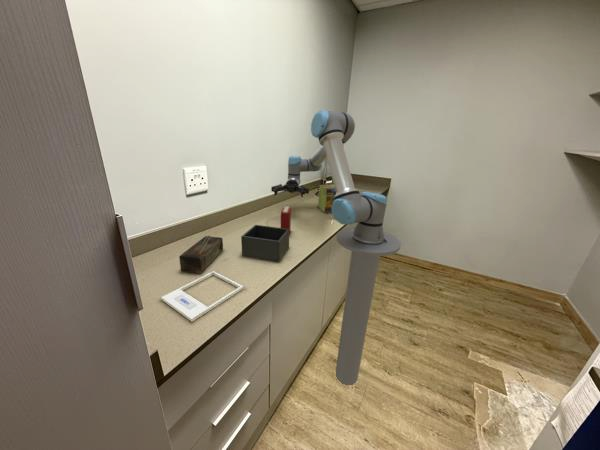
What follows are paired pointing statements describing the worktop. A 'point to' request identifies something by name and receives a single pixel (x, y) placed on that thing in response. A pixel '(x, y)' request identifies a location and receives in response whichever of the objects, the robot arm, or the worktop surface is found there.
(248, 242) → the bin
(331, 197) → the protein box
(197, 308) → the photo frame
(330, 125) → the robot arm
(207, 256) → the dark brown wooden block
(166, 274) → the worktop surface
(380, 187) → the worktop surface
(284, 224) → the block
